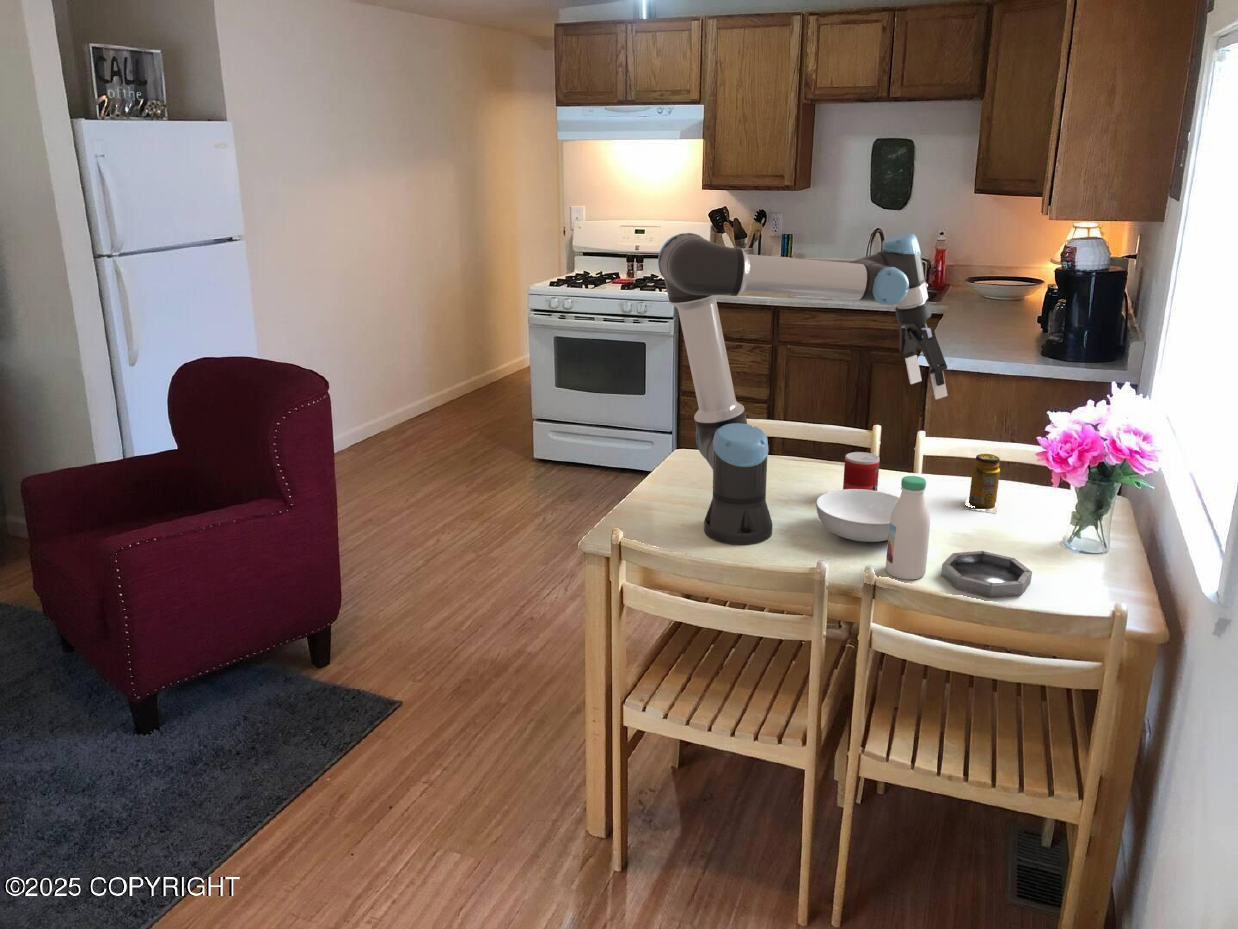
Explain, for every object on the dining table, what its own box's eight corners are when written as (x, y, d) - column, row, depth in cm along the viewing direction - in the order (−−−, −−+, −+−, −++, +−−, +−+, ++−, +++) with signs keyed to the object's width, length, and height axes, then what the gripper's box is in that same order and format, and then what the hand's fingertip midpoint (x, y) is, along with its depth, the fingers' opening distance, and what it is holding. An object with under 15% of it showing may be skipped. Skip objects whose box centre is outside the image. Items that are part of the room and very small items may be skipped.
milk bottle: (931, 571, 193) (941, 478, 186) (914, 584, 187) (924, 488, 181) (896, 561, 198) (904, 469, 191) (878, 573, 192) (886, 479, 186)
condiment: (998, 501, 229) (1004, 454, 225) (996, 513, 222) (1002, 464, 218) (966, 497, 232) (971, 450, 228) (963, 509, 224) (968, 461, 221)
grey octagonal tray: (933, 583, 188) (934, 571, 187) (958, 556, 199) (960, 545, 198) (1014, 604, 179) (1016, 592, 178) (1036, 575, 190) (1038, 563, 190)
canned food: (879, 505, 227) (883, 461, 224) (845, 505, 227) (848, 461, 224) (872, 494, 235) (875, 451, 231) (839, 494, 235) (842, 451, 231)
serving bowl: (892, 561, 198) (894, 530, 196) (799, 539, 209) (800, 509, 207) (925, 528, 214) (927, 499, 212) (836, 509, 225) (838, 482, 223)
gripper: (952, 307, 204) (968, 398, 212) (904, 289, 227) (920, 371, 235) (919, 318, 204) (936, 409, 211) (874, 299, 227) (891, 381, 235)
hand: (928, 389), depth 223 cm, fingers open, 13 cm apart
